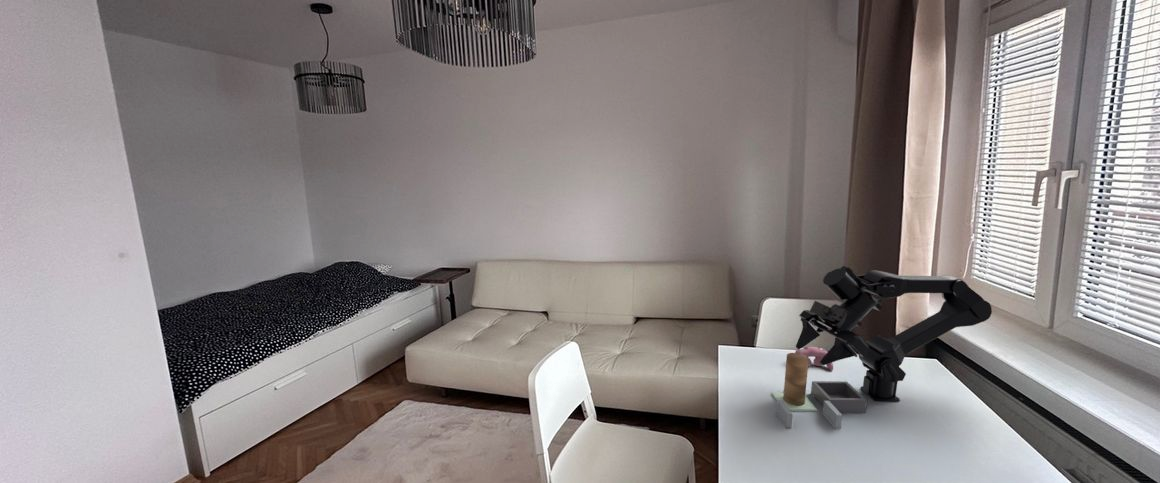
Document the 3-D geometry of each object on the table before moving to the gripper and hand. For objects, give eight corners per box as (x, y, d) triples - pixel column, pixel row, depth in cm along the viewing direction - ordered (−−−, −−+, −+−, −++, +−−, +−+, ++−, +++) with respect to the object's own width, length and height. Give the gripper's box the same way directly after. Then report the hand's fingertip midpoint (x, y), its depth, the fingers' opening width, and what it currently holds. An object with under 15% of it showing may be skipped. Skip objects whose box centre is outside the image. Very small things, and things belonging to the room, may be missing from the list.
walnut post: (804, 398, 114) (808, 355, 111) (804, 407, 109) (808, 363, 107) (783, 393, 116) (787, 351, 114) (782, 402, 112) (786, 359, 109)
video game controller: (828, 370, 132) (825, 347, 134) (835, 371, 128) (832, 346, 130) (794, 370, 133) (792, 346, 135) (800, 370, 128) (797, 345, 130)
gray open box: (845, 393, 116) (846, 381, 116) (865, 412, 108) (866, 400, 107) (810, 393, 117) (811, 381, 116) (827, 412, 108) (829, 399, 107)
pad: (802, 394, 117) (802, 392, 116) (816, 411, 109) (816, 409, 109) (771, 393, 117) (771, 392, 117) (783, 410, 109) (783, 409, 109)
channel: (827, 413, 108) (829, 400, 107) (840, 428, 102) (842, 414, 101) (776, 413, 108) (777, 400, 108) (786, 427, 102) (787, 414, 102)
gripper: (808, 280, 117) (768, 322, 118) (862, 303, 99) (815, 352, 100) (831, 306, 120) (792, 347, 121) (889, 332, 102) (842, 380, 102)
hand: (808, 355), depth 111 cm, fingers open, 9 cm apart
